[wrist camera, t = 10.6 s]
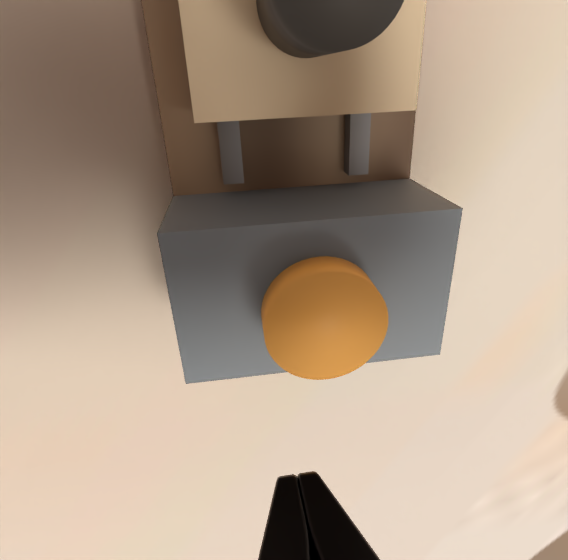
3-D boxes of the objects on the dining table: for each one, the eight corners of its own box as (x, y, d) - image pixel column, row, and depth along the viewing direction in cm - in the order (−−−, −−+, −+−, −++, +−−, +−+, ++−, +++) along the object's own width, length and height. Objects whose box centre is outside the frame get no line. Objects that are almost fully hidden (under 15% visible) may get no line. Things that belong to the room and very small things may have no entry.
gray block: (196, 305, 21) (186, 383, 16) (177, 187, 18) (157, 233, 13) (397, 285, 22) (452, 352, 17) (408, 170, 19) (478, 207, 14)
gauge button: (258, 319, 17) (267, 385, 14) (251, 230, 16) (259, 278, 12) (351, 310, 18) (384, 372, 14) (354, 221, 16) (393, 266, 12)
